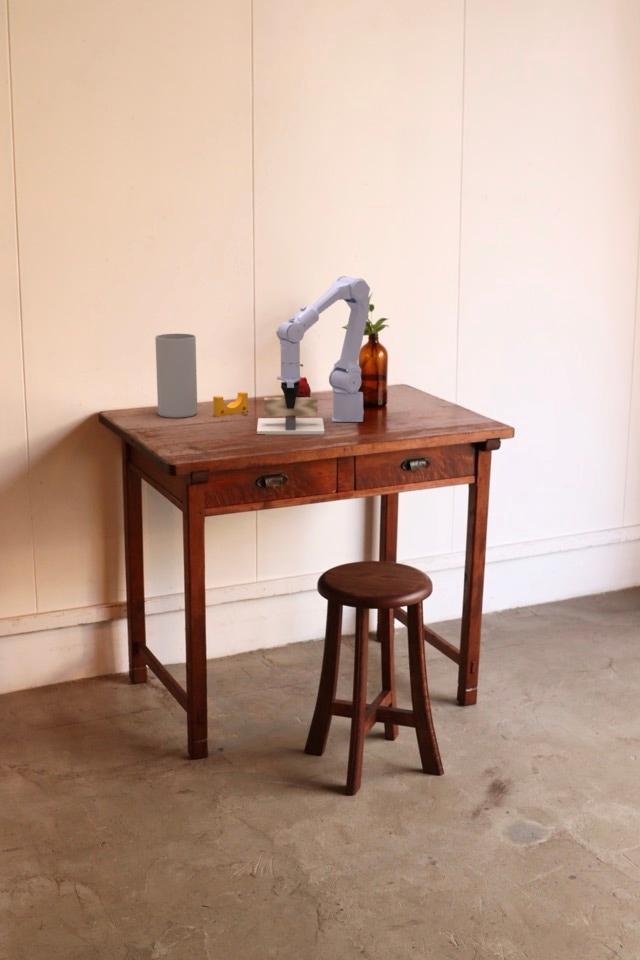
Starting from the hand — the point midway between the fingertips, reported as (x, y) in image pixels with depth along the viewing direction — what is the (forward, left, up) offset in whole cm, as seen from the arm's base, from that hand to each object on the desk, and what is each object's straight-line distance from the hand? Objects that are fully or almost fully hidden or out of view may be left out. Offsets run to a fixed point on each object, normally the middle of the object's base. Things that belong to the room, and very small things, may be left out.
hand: (290, 406), depth 350 cm
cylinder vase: (+36, -20, -7) cm, 42 cm away
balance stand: (0, 0, -6) cm, 6 cm away
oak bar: (0, 0, -2) cm, 2 cm away
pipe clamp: (+20, -21, -7) cm, 30 cm away
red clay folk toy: (-3, -38, -7) cm, 39 cm away
